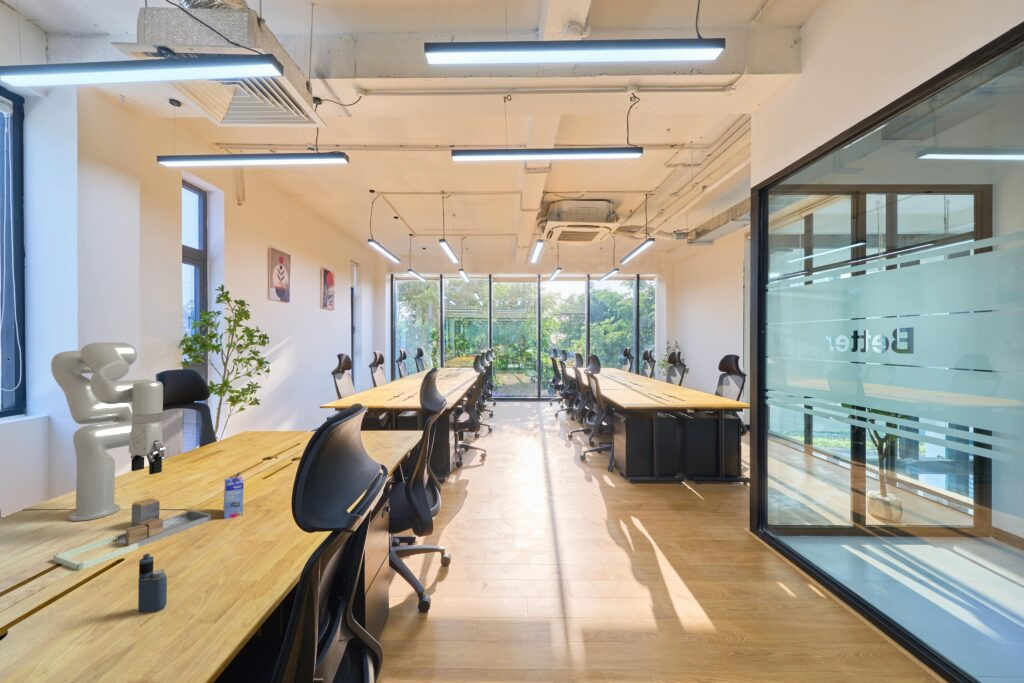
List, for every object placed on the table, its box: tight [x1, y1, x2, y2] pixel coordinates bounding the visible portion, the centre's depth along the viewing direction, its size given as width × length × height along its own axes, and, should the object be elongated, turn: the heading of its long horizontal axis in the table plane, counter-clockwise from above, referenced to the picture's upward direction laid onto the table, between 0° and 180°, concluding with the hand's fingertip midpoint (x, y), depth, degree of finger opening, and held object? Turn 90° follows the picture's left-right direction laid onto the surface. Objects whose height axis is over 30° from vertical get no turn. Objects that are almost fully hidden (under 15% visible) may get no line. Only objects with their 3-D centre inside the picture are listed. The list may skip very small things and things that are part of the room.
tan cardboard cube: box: [139, 518, 164, 537], centre depth 125 cm, size 4×4×4 cm
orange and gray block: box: [131, 497, 160, 527], centre depth 132 cm, size 5×5×8 cm
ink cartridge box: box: [222, 471, 245, 520], centre depth 142 cm, size 10×6×14 cm, turn 37°
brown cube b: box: [125, 524, 148, 546], centre depth 120 cm, size 4×4×4 cm
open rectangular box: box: [115, 509, 212, 548], centre depth 128 cm, size 11×20×3 cm, turn 158°
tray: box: [52, 535, 139, 571], centre depth 113 cm, size 13×12×2 cm
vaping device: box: [137, 553, 168, 614], centre depth 90 cm, size 3×5×12 cm, turn 95°
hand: (146, 471), depth 132 cm, fingers open, 9 cm apart
